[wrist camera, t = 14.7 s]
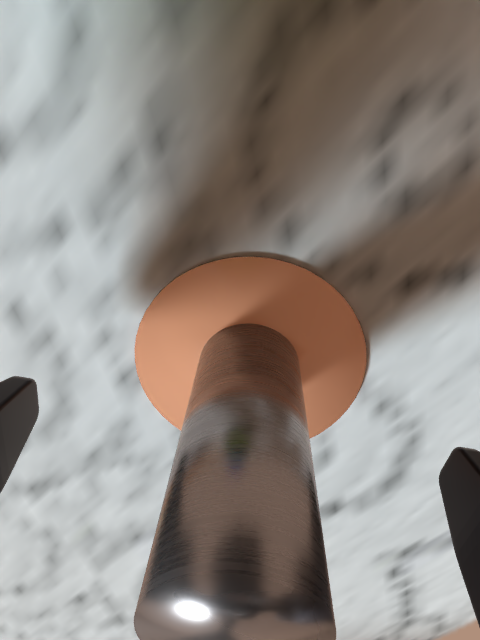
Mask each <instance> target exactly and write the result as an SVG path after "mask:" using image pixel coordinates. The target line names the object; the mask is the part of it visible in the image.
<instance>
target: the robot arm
mask: <svg viewBox="0 0 480 640" xmlns="http://www.w3.org/2000/svg"><path fill="white" fill-rule="evenodd" d="M38 413H39V404H38V394H37V385H36V382H35V380H33V379H31V378H25V377H19V376H14V377H11V378H8V379H6V380H4V381H2V382H0V493H1V491H2V489H3V488H4V486H5V484H6V482H7V480H8V478H9V476H10V474H11V472H12V470H13V468H14V466H15V464H16V462H17V460H18V458H19V456H20V453H21V451H22V449H23V447H24V445H25V443H26V441H27V439H28V437H29V435H30V433H31V431H32V429H33V427H34V425H35V423H36V420H37V417H38ZM439 485H440V489H441V494H442V498H443V502H444V507H445V511H446V516H447V520H448V524H449V529H450V533H451V538H452V542H453V546H454V550H455V553H456V557H457V560H458V563H459V567H460V570H461V573H462V576H463V579H464V582H465V585H466V588H467V591H468V594H469V597H470V600H471V603H472V606H473V609H474V612H475V615H476V618H477V621H478V624H479V627H480V452H479V451H477V450H475V449H470V448H464V447H457V448H455V449H454V450H453V451H452V453H451V454H450V456H449V458H448V459H447V461H446V463H445V465H444V466H443V468H442V470H441V472H440V475H439Z"/></svg>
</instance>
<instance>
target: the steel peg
mask: <svg viewBox="0 0 480 640" xmlns="http://www.w3.org/2000/svg"><path fill="white" fill-rule="evenodd" d="M134 627H135V631H136V633H137V636H138V637H139V639H140V640H336V627H335V620H334V612H333V605H332V598H331V591H330V584H329V576H328V569H327V562H326V555H325V547H324V540H323V533H322V526H321V518H320V511H319V504H318V497H317V489H316V482H315V475H314V468H313V460H312V453H311V446H310V439H309V431H308V424H307V417H306V410H305V402H304V395H303V388H302V381H301V373H300V366H299V360H298V356H297V353H296V350H295V349H294V347H293V345H292V344H291V343H290V341H289V340H288V339H287V338H286V337H285V336H283V335H282V334H281V333H279V332H278V331H276V330H274V329H272V328H269V327H267V326H263V325H259V324H248V323H247V324H238V325H233V326H230V327H227V328H225V329H222V330H221V331H219V332H217V333H216V334H215V335H213V336H212V337H211V338H210V339H209V340H208V341H207V343H206V344H205V346H204V347H203V350H202V352H201V355H200V359H199V363H198V367H197V371H196V375H195V379H194V382H193V386H192V390H191V394H190V398H189V402H188V406H187V410H186V414H185V418H184V422H183V426H182V430H181V434H180V438H179V442H178V446H177V450H176V454H175V458H174V461H173V465H172V469H171V473H170V477H169V481H168V485H167V489H166V493H165V497H164V501H163V505H162V509H161V513H160V517H159V521H158V525H157V529H156V533H155V537H154V540H153V544H152V548H151V552H150V556H149V560H148V564H147V568H146V572H145V576H144V580H143V584H142V588H141V592H140V596H139V600H138V604H137V608H136V612H135V616H134Z"/></svg>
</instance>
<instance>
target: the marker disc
mask: <svg viewBox="0 0 480 640" xmlns="http://www.w3.org/2000/svg"><path fill="white" fill-rule="evenodd" d="M247 323H248V324H259V325H263V326H267V327H269V328H272V329H274V330H276V331H278V332H279V333H281V334H282V335H283V336H285V337H286V338H287V339H288V340H289V341H290V343H291V344H292V345H293V347H294V349H295V350H296V353H297V356H298V360H299V366H300V373H301V381H302V388H303V395H304V402H305V410H306V417H307V424H308V431H309V439H310V438H312V437H314V436H316V435H318V434H319V433H321V432H323V431H324V430H325V429H327V428H328V427H330V426H331V425H332V424H333V423H335V422H336V421H337V420H338V419H339V418H340V417H341V416H342V415H343V414H344V413H345V412H346V410H347V409H348V408H349V407H350V405H351V404H352V402H353V401H354V399H355V398H356V396H357V394H358V392H359V389H360V387H361V385H362V382H363V378H364V375H365V369H366V362H367V358H366V344H365V339H364V334H363V331H362V329H361V326H360V323H359V321H358V319H357V317H356V315H355V313H354V311H353V310H352V308H351V307H350V305H349V304H348V303H347V301H346V300H345V299H344V297H343V296H342V295H341V294H340V293H339V292H338V291H337V290H336V289H335V288H334V287H333V286H332V285H330V284H329V283H327V282H326V281H325V280H323V279H322V278H321V277H319V276H317V275H316V274H314V273H312V272H310V271H308V270H306V269H305V268H302V267H299V266H297V265H294V264H291V263H289V262H285V261H281V260H276V259H272V258H263V257H233V258H226V259H220V260H216V261H212V262H209V263H205V264H203V265H200V266H198V267H196V268H193V269H191V270H189V271H187V272H186V273H184V274H182V275H180V276H179V277H177V278H176V279H174V280H173V281H172V282H171V283H169V284H168V285H167V286H166V287H164V289H163V290H162V291H161V292H160V293H159V294H158V295H157V296H156V297H155V298H154V300H153V301H152V303H151V304H150V306H149V307H148V309H147V310H146V312H145V314H144V316H143V318H142V320H141V322H140V325H139V329H138V332H137V335H136V343H135V363H136V369H137V374H138V377H139V380H140V382H141V385H142V387H143V389H144V391H145V393H146V395H147V397H148V398H149V400H150V401H151V403H152V404H153V405H154V407H155V408H156V409H157V410H158V411H159V412H160V414H161V415H162V416H163V417H164V418H166V419H167V420H168V421H169V422H170V423H171V424H172V425H174V426H175V427H177V428H178V429H180V430H182V426H183V422H184V418H185V414H186V410H187V406H188V402H189V398H190V394H191V390H192V386H193V382H194V379H195V375H196V371H197V367H198V363H199V359H200V355H201V352H202V350H203V347H204V346H205V344H206V343H207V341H208V340H209V339H210V338H211V337H212V336H213V335H215V334H216V333H217V332H219V331H221V330H222V329H225V328H227V327H230V326H233V325H238V324H247Z"/></svg>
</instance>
